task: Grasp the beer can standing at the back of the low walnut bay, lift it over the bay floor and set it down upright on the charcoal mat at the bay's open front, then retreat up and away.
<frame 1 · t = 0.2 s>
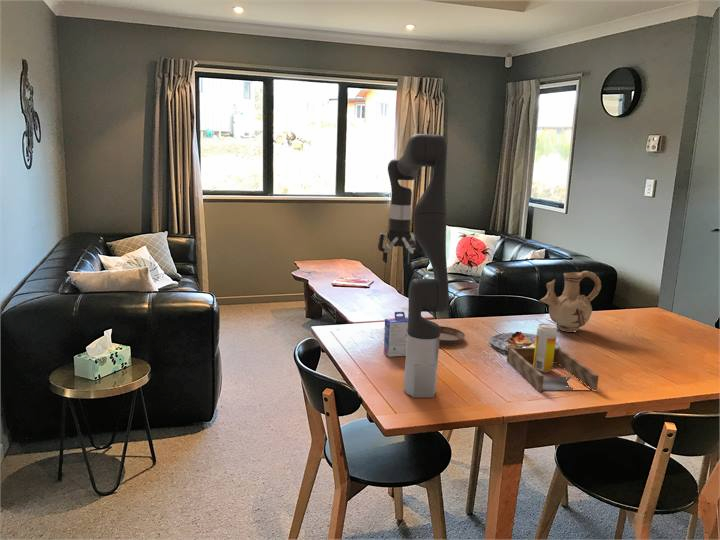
hand: (397, 263, 206), 29 cm above the table, fingers open, 8 cm apart
ceramic vessel: (564, 329, 238), on the table
food plate: (524, 348, 212), on the table
plant saucer: (440, 340, 217), on the table
ink cartridge box: (398, 354, 199), on the table
bay: (548, 375, 186), on the table
beer can: (542, 370, 191), resting in bay
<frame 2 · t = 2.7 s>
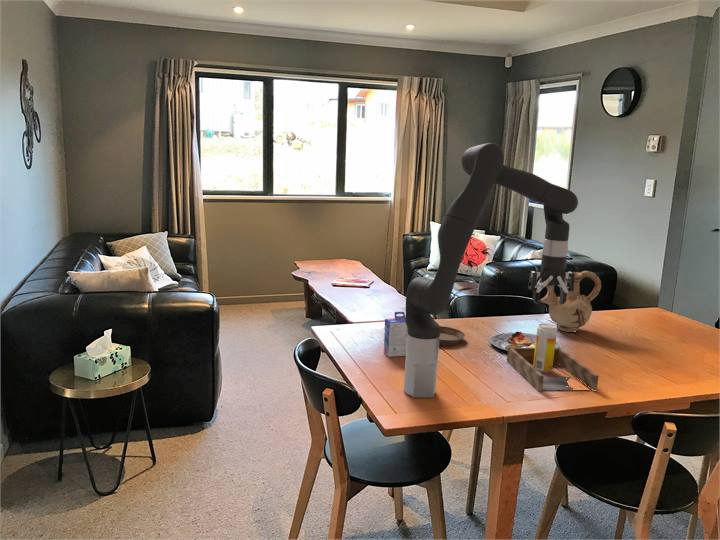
hand: (549, 303, 186), 22 cm above the table, fingers open, 8 cm apart
nothing on the table moved.
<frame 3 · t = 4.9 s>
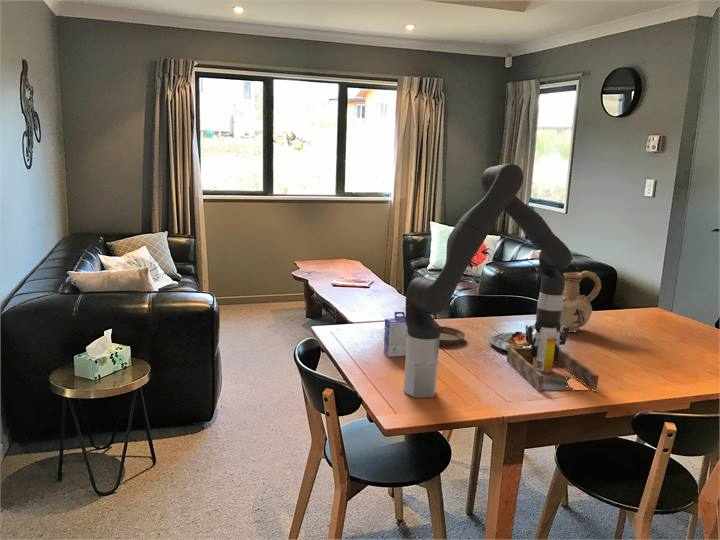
hand: (543, 356, 190), 5 cm above the table, fingers closed on beer can, 6 cm apart
beer can: (542, 370, 191), resting in bay, touching gripper
everything else where it was.
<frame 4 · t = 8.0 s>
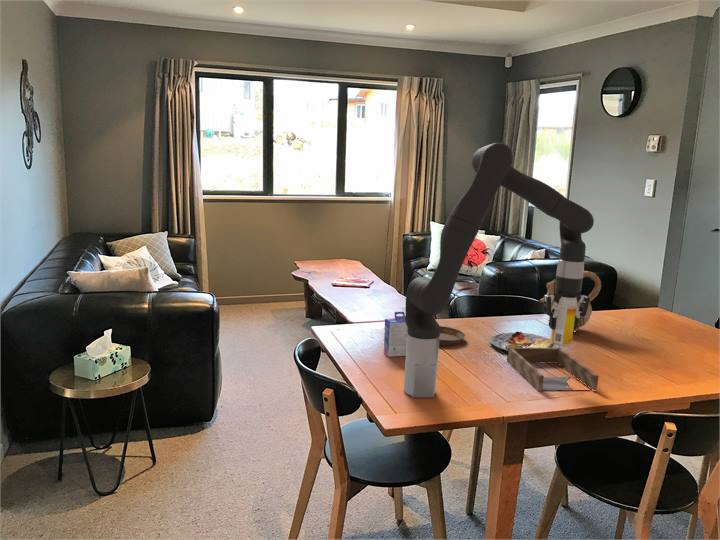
hand: (562, 328, 177), 17 cm above the table, fingers closed on beer can, 6 cm apart
beer can: (560, 344, 178), point 12 cm above the table, touching gripper
everything else where it was.
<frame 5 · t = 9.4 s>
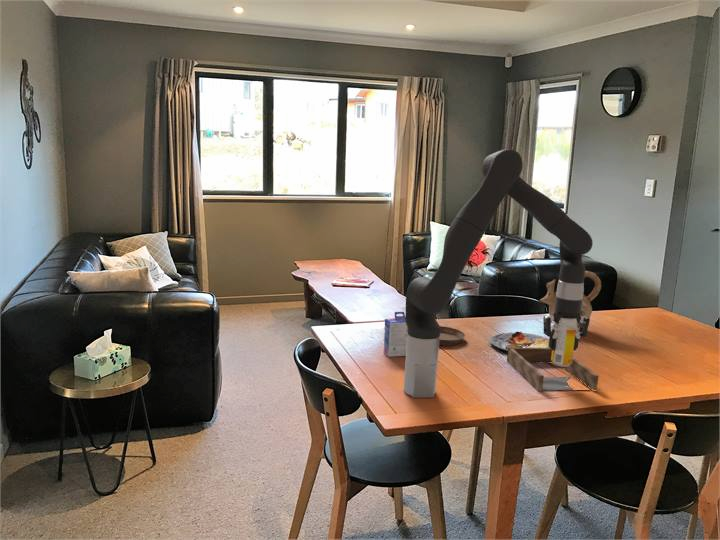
hand: (562, 349, 177), 11 cm above the table, fingers closed on beer can, 6 cm apart
beer can: (560, 364, 178), point 6 cm above the table, touching gripper
everything else where it was.
when the fingers open (6 cm above the table, at t = 10.9 s): beer can stays where it is, resting on bay.
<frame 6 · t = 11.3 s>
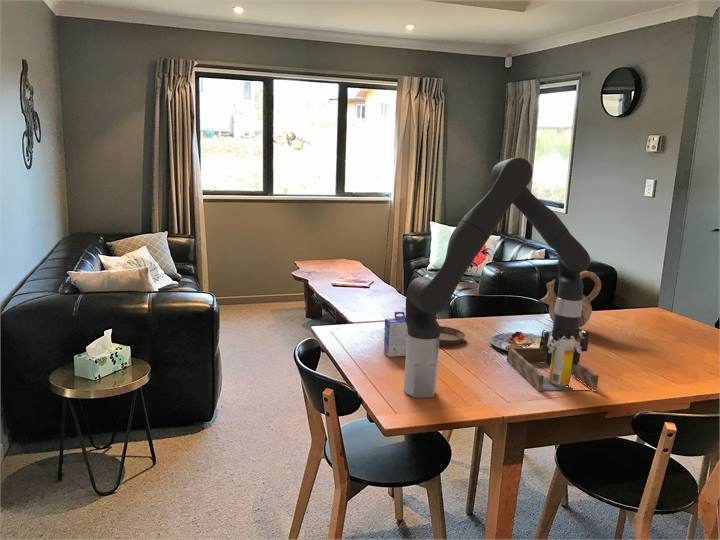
hand: (561, 363, 178), 7 cm above the table, fingers open, 8 cm apart
beer can: (558, 383, 179), resting on bay
everything else where it was.
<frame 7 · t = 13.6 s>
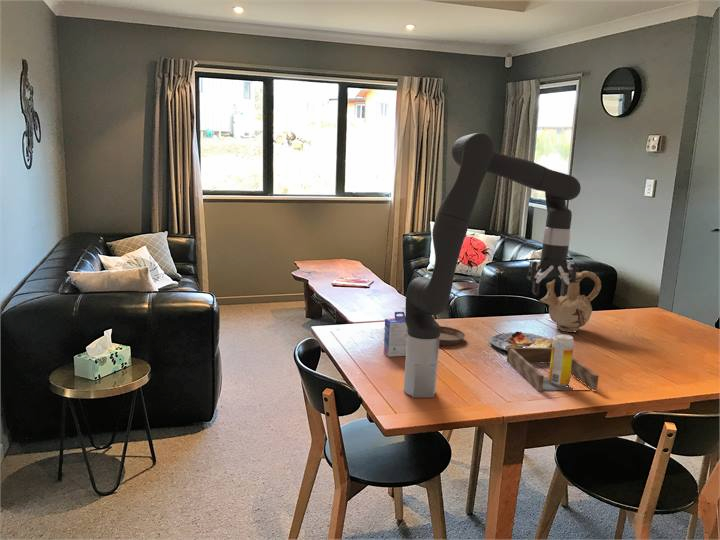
hand: (549, 295, 178), 27 cm above the table, fingers open, 8 cm apart
nothing on the table moved.
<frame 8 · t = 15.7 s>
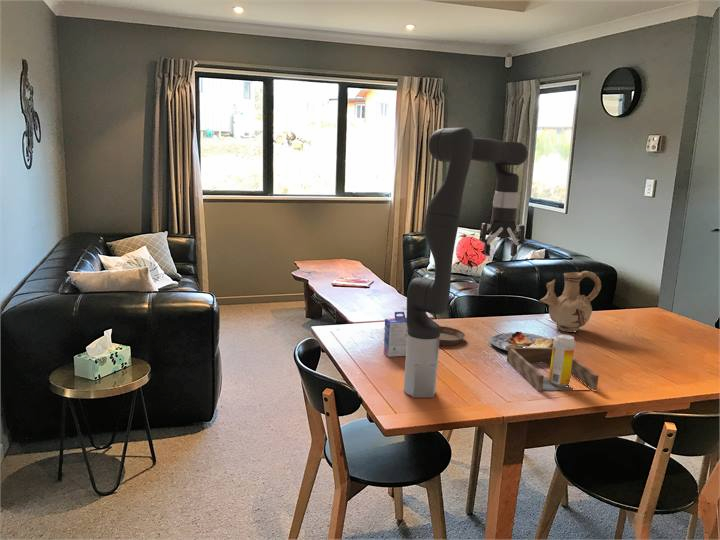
hand: (500, 255, 189), 36 cm above the table, fingers open, 8 cm apart
nothing on the table moved.
at the end: beer can inside the target area on the bay (0.2 cm from its centre), point 0.1 cm above the bay's base; beer can tilted 0°; the gripper is holding nothing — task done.
